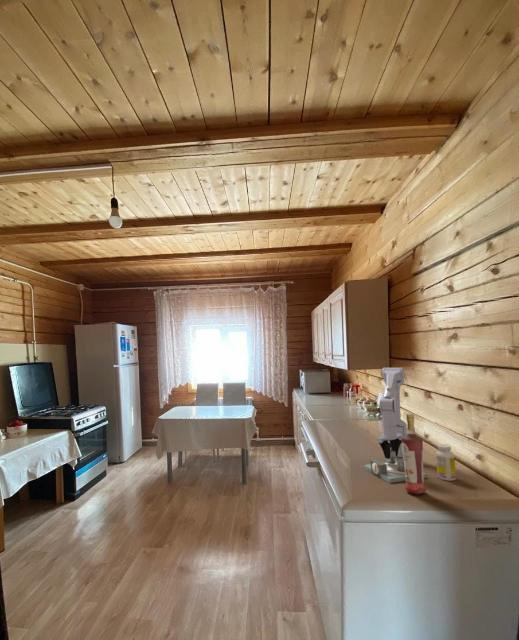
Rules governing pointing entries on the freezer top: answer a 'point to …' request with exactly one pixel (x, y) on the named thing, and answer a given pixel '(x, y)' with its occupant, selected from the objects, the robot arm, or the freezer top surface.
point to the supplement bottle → (445, 463)
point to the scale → (387, 471)
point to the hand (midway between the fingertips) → (391, 457)
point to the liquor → (413, 459)
